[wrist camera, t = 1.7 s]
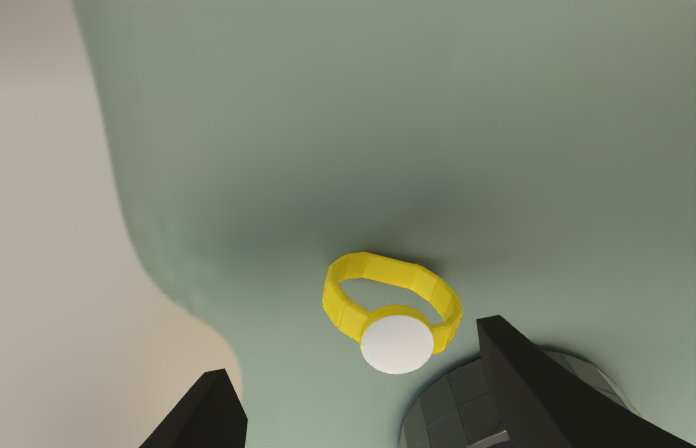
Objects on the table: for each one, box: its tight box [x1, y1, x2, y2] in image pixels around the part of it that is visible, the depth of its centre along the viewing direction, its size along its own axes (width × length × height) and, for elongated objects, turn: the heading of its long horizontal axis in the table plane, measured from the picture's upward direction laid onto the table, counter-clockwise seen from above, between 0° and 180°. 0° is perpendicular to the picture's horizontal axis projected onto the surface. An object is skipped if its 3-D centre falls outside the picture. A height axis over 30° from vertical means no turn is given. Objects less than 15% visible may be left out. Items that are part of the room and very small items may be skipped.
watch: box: [322, 252, 463, 374], centre depth 18 cm, size 6×3×6 cm, turn 76°
